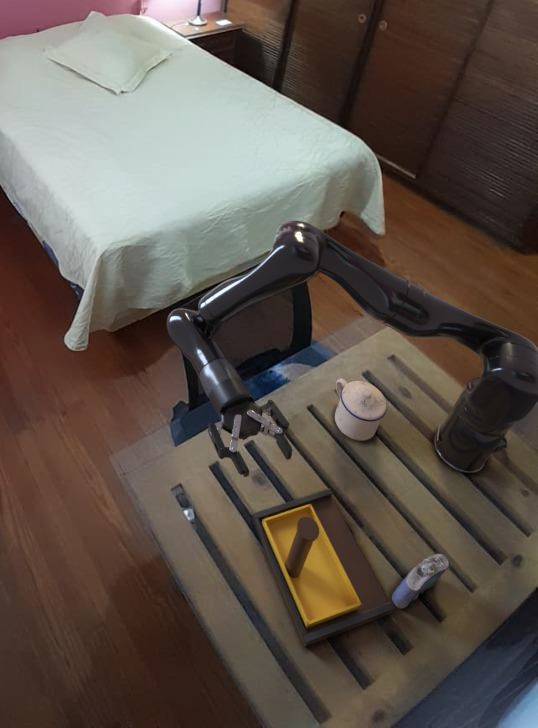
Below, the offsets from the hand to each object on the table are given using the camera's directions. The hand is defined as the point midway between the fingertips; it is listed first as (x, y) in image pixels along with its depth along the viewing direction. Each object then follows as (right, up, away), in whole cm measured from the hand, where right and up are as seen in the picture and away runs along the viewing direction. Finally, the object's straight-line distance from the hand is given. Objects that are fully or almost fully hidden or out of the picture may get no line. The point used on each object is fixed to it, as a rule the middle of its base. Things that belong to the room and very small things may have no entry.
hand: (268, 465), depth 95 cm
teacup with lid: (+24, -2, +25) cm, 35 cm away
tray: (+7, -19, +2) cm, 20 cm away
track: (+10, -19, +3) cm, 22 cm away
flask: (+25, -21, 0) cm, 33 cm away
